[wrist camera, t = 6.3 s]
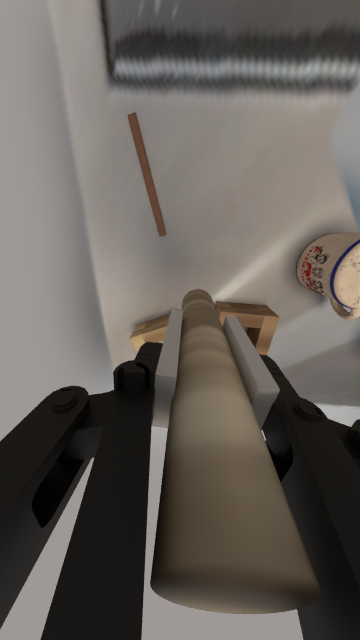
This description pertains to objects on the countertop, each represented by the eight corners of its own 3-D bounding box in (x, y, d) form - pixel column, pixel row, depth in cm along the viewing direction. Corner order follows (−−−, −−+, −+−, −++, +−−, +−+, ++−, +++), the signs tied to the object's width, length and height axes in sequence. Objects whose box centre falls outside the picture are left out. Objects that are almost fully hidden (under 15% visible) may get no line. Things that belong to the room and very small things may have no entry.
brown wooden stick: (128, 116, 23) (127, 115, 23) (135, 113, 23) (134, 112, 22) (160, 236, 28) (159, 236, 28) (166, 234, 28) (165, 234, 28)
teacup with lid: (293, 242, 28) (356, 244, 17) (359, 223, 26) (472, 214, 16) (295, 312, 32) (346, 347, 22) (351, 299, 31) (434, 331, 20)
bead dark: (216, 301, 32) (220, 311, 28) (266, 305, 32) (279, 316, 28) (209, 344, 36) (212, 359, 31) (254, 348, 36) (263, 364, 31)
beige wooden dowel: (184, 287, 17) (154, 552, 3) (215, 291, 17) (355, 575, 3) (180, 316, 18) (147, 603, 4) (209, 319, 18) (284, 620, 4)
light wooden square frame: (137, 325, 35) (129, 338, 31) (180, 311, 33) (178, 322, 29) (155, 361, 38) (151, 377, 34) (195, 349, 37) (196, 365, 32)
